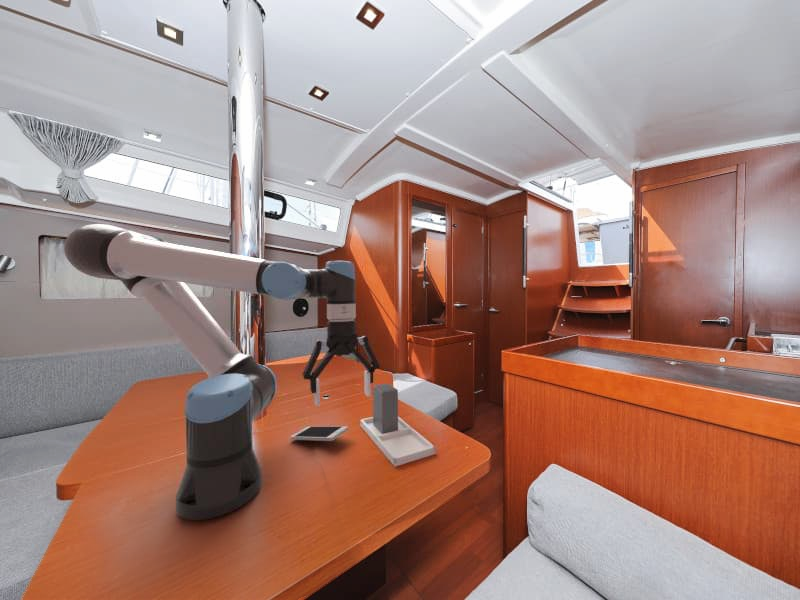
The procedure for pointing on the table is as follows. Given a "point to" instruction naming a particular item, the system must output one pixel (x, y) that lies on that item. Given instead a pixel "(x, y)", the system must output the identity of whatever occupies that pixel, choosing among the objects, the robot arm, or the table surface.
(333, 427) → the smartphone
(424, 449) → the dock
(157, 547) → the table surface
